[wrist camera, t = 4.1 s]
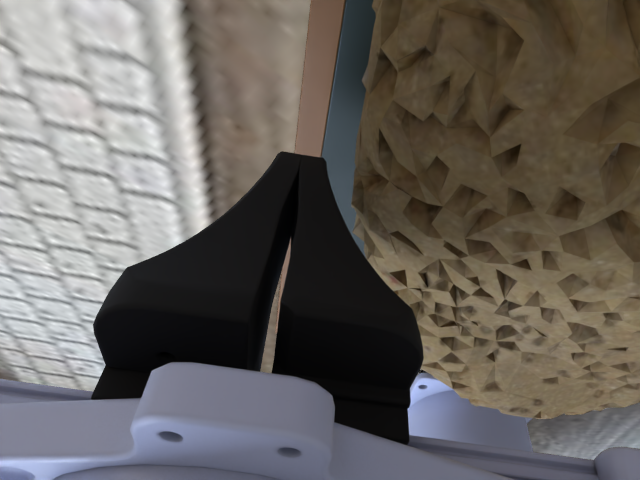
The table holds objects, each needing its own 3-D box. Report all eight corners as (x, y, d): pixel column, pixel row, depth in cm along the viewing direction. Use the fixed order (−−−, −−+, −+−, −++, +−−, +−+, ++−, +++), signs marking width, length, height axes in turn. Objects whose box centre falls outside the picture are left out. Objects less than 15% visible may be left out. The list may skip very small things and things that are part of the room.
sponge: (349, -203, 11) (322, 369, 22) (473, -409, 5) (350, 551, 15) (819, -170, 13) (583, 352, 23) (1405, -292, 6) (710, 511, 17)
